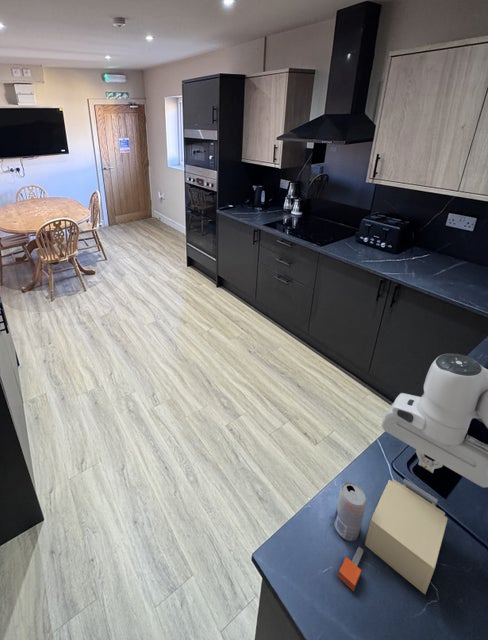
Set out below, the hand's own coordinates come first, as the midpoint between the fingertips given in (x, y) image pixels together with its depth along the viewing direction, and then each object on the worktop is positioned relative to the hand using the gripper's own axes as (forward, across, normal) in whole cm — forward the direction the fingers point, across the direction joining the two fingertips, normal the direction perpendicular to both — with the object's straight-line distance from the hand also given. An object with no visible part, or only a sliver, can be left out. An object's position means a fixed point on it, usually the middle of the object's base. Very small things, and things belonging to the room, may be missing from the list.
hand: (426, 467), depth 75 cm
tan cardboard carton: (+15, 0, +10) cm, 18 cm away
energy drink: (+15, +10, +16) cm, 24 cm away
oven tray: (+14, 0, +5) cm, 15 cm away
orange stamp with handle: (+15, +6, +22) cm, 28 cm away
